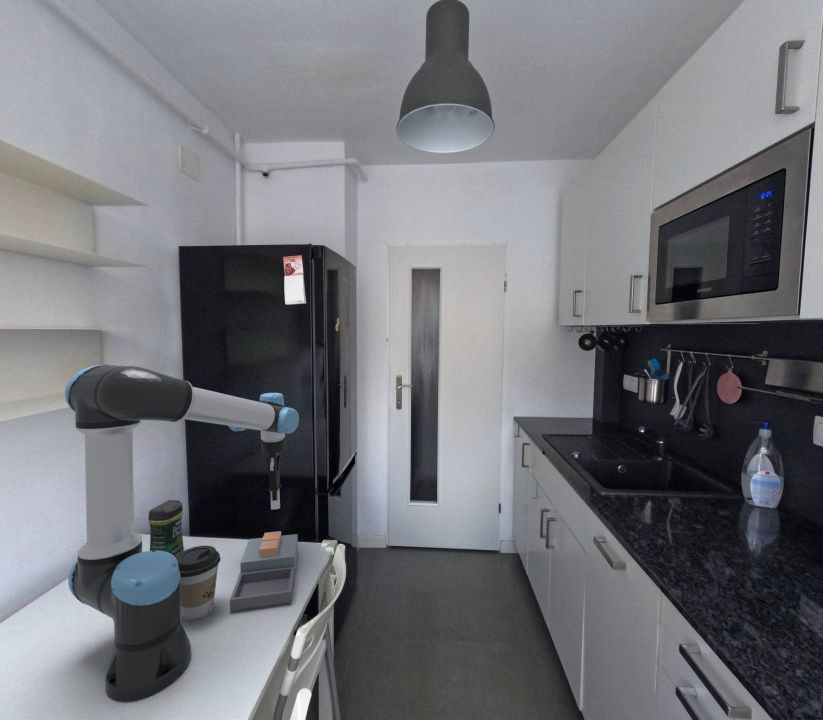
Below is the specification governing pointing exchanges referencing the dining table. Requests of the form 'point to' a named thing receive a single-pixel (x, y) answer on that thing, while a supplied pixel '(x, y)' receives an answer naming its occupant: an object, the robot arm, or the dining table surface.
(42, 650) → the dining table surface
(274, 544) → the tile front
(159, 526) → the coffee jar
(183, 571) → the coffee cup
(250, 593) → the box
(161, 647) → the robot arm
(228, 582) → the dining table surface
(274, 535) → the tile rear
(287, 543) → the blue-grey square block
